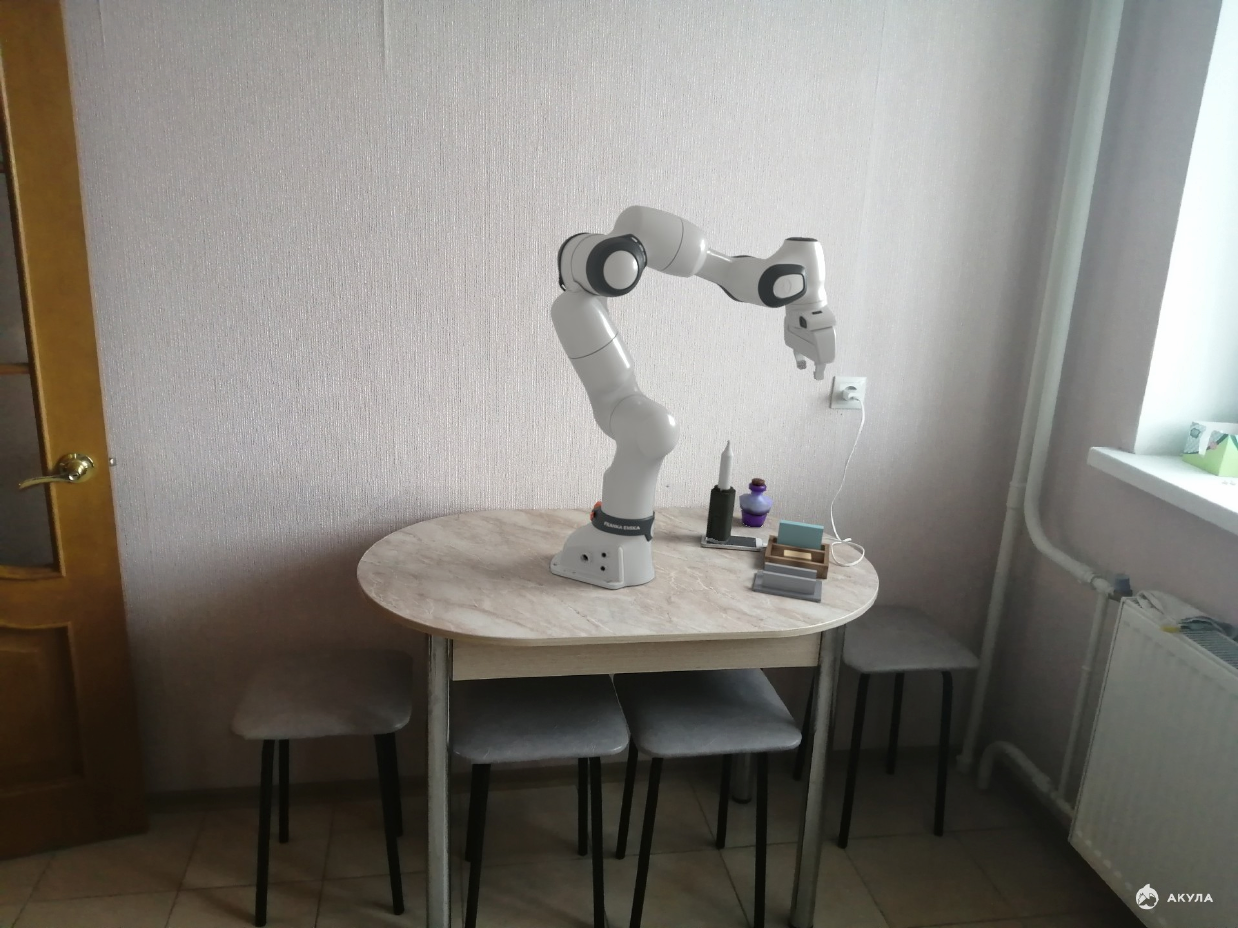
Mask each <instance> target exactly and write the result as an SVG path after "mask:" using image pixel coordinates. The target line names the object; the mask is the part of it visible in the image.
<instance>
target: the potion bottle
mask: <svg viewBox="0 0 1238 928" xmlns="http://www.w3.org/2000/svg"><path fill="white" fill-rule="evenodd" d="M748 490H750V493H743V494H741V495H739V496H738V499H739V501H738V502H739V509H741V511H740V512H741V520H742V521H741V523H742V522H743V523H744V525H747V526H750V527H761V526H762V525H763V526H764V524H765V521H766V519H767V516H768V514H769V513H770V511H771V508H772V505H773V503H774V501H773V499H772V498H771V497H770V496H766V495H763V494H764V492H766V491H767V484H766V481H765V479H762V478H758V477H754V478H752V479H751V482H749V483H748ZM744 525H743V526H744ZM747 526H746V527H747ZM750 527H749V528H750ZM761 528H762V527H761Z"/></svg>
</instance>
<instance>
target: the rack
mask: <svg viewBox="0 0 1238 928" xmlns="http://www.w3.org/2000/svg"><path fill="white" fill-rule="evenodd" d="M777 538H778V535H772V534H769V537H768V541H767V546H766V550H765V554H764V560H763V568H762V569H763V570H764V569H765V562H767V563H773V564H779V565H786V566H792V567H798V568H804V569H810V570H816V571H817V574H816V578H818V579H824V580H825V579H828V573H829V565H830V544H831V543H830V544H829V543H824V542H822V543H821V549H820V550H815V549H808V548H802V547H796V546H789V545H783V544H777ZM784 550H789V551H796V552H803V553H810V554H811V562H809V561H802V560H796V559H790V558H784V557H783V555H784Z"/></svg>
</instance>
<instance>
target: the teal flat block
mask: <svg viewBox="0 0 1238 928" xmlns="http://www.w3.org/2000/svg"><path fill="white" fill-rule="evenodd" d="M824 529H825V526H824V525H818V524H812V523H811V524H810V523H805V522H798V521H792V520H786V519H780V520H779V525H778V533H777V536H778V538H777V544H783V545H789V546H796V547H802V548H808V549H815V550H820V549H821V543H823V535H824Z"/></svg>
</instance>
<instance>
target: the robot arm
mask: <svg viewBox="0 0 1238 928" xmlns="http://www.w3.org/2000/svg"><path fill="white" fill-rule="evenodd" d="M556 260H557V270H558V286H559V288H560V290H562V291H563V292H562V293H560V294H559V295H558V296H557V297H556V298H555V299H554V301H553V302H552V304H551V307H550V317H551V321H552V325H553V327H554V330H555V333H556V335H557V338H558V340H559V343H560V344H561V346H562V348H563V351H564V353H565V354H566V356H567V358H568V360H569V361H570V363H571V365H572V367H573V368H574V371H575V373H576V374H577V376H578V377H579V380H580V381H581V383H582V386H583V387H584V389H585V391H586V394H587V397H588V400H589V403H590V406H591V409H592V414H593V419H594V421H595V422H596V424H597V426H598V427H599V428H600V430H601V431H602V432H603V433H604V434H605V435H606V436H607V437H609V438H611V440H614V442H615V443H616V444H615V445H616V450H615V454H614V456H613V459H612V462H611V464H610V465H609V466H608V468H607V469H606V470H605V471H604V472H603V478H602V479H603V480H602V489H601V490H602V491H601V501H600V500H598V501H597V502H596V503H595V504H594V505H593V508H592V510H591V513H590V516H589V520H590V522H589V523H587V524H585V525H583V526H582V527H579V528H577V529H576V530H574V531H573V532H572V533H570V534H569V535H568V537H566V540H565V542H564V544H563V547H562V550H560V551H559V552H557V553H556V554H555V555H554V556H553V557H552V559H551V561H550V565H549V570H550V572H551V573H552V574H554V575H557V576H560V577H565V578H568V579H573V580H576V581H580V582H583V583H588V584H591V585H593V586H594V585H595V586H599V587H601V588H606V589H610V590H618V589H621V588H624V587H628V586H629V587H630V586H639V585H642V584H643V585H644V584H647V583H649V582H650V581H652V580H653V579H654V578H655V576H656V571H655V566H654V557H653V546H652V545H653V539H654V538H653V537H654V535H655V527H656V526H655V525H656V519H655V518H656V512H655V510H654V508H655V507H654V506H655V497H656V489H657V481H658V477H659V473H660V470H661V467H662V465H663V463H664V460H665V458H666V456H668V455H669V454H670V453H671V452H672V451H673V450H674V449H675V448H676V446H677V444H678V442H679V440H680V435H681V434H680V430H681V429H680V424H679V422H678V421H677V419H676V417H675V416H674V415H673V414H672V412H670V411H669V410H668V408H667V407H666V406H664V405H663V404H661V403H659V402H657V401H655V400H653V399H651V398H650V397H648V396H647V395H646V393H645V394H644V392H643V391H642V390H641V388H640V387H639V384H638V381H637V379H636V374H635V361H634V359H633V356H632V354H631V353H630V350H629V349H628V347H627V344H626V343H625V341H624V339H623V337H622V335H621V333H620V331H619V330H618V327H617V326H616V324H615V322H614V321H613V319H612V317H611V316H610V311H609V306H608V298H618V297H622V296H625V295H627V294H629V293H631V292H632V291H633V290H634V289H635V288H636V287H637V285H638V283H639V281H640V280H641V277H642V276H643V272H644V270H645V268H649V269H652V270H653V271H658V272H659V273H661V274H664V275H665V274H666V275H670V276H675V277H679V278H691V277H693V276H696V277H699V278H701V279H703V280H706V281H709V282H711V283H714V284H716V285H717V286H718V287H719V288H720V289H721V290H722V291H723V292H724V293H725V294H726V296H727V297H729V299H731V300H733V301H734V302H738V303H745V304H751V305H754V306H755V305H756V306H759V307H765V308H768V309H778V308H782V307H785V308H784V309H785V316H784V318H783V340H784V343H785V346H787V347H788V348H790V349H791V350H792V352H793V356H794V359H795V361H796V368H797V369H799V370H801V371H802V370H806V369H807V361H806V360H805V358H807V359H808V360H810V361H812V362H813V365H814V366H815V368H814V371H813V378H814V380H816V381H818V382H819V381H823V380H824V379H825V370H826V366H827V365H828V364H833V363H834V362H835V360H836V355H837V337H836V336H837V335H836V330H835V326H837V325H838V321H837V316H836V315H835V313H834V311H832V309H831V308H830V305H829V304H828V298H827V297H828V296H827V291H826V290H825V281H826V276H827V275H826V263H825V261H826V260H825V256H824V250H823V247H822V244H821V241H819V240H818V239H817V238H813V237H802V236H792V237H791V236H790V237H787V238H786V239H784V241H783V242H782V244H781V246H780V247H779V248H778V249H777V251H775V252H774V254H772V255H770V256H769V257H767V258H760V257H755V256H752V255H749V254H748V255H747V254H741V255H740V254H739V255H734V256H729V255H727V254H725V253H722V252H719V251H717V250H715V249H713V248H711V247H709V240H708V236H707V233H706V232H705V230H703V229H702V228H700V227H699V226H697V225H696V224H694V223H693V222H691V221H689V220H688V219H686V218H683V217H681V216H678V215H676V214H674V213H672V212H671V213H670V212H668V211H664V210H661V209H657V208H654V207H649V206H644V205H640V204H639V205H638V204H636V205H631V206H627V207H626V208H624V209H623V210H622V211H621V212H620V213H619V215H618V217H617V218H616V220H615V222H614V225H613V228H612V230H611V231H610V232H609V233H607V234H605V233H598V232H597V233H596V232H595V233H594V232H585V231H584V232H579V233H576V234H573V235H570V236H569V237H567V239H565V240H564V241H563V242H562V243H561V245H560V247H559V249H558V251H557V258H556Z"/></svg>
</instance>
